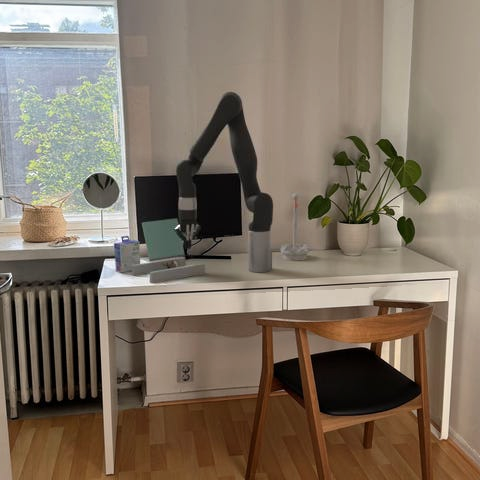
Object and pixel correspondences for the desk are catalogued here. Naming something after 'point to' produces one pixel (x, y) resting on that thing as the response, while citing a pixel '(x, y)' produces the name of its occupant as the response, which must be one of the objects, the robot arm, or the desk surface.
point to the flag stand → (294, 240)
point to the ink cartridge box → (126, 254)
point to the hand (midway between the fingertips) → (187, 248)
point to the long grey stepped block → (163, 273)
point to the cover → (162, 239)
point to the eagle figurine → (171, 265)
